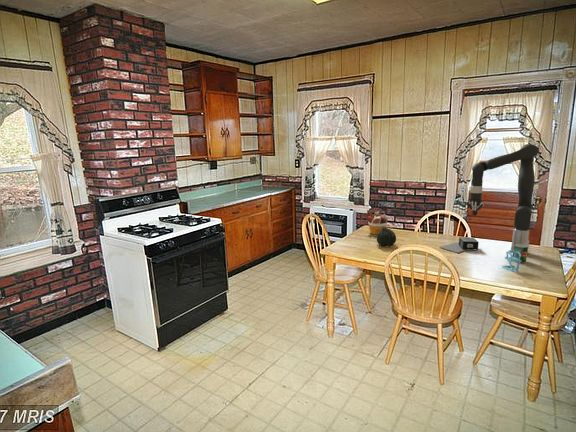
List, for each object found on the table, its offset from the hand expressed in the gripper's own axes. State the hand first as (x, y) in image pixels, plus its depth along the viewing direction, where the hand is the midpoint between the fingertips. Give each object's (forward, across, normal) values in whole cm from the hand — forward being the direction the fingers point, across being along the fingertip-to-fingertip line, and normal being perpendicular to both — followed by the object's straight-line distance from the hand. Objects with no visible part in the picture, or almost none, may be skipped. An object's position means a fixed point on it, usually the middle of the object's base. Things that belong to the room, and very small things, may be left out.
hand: (474, 215), depth 253 cm
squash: (+24, +43, +44) cm, 66 cm away
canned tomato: (+26, -32, 0) cm, 41 cm away
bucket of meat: (+24, +71, +26) cm, 79 cm away
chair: (+26, -37, +19) cm, 49 cm away
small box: (+21, -3, +7) cm, 22 cm away
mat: (+25, +7, +8) cm, 27 cm away
